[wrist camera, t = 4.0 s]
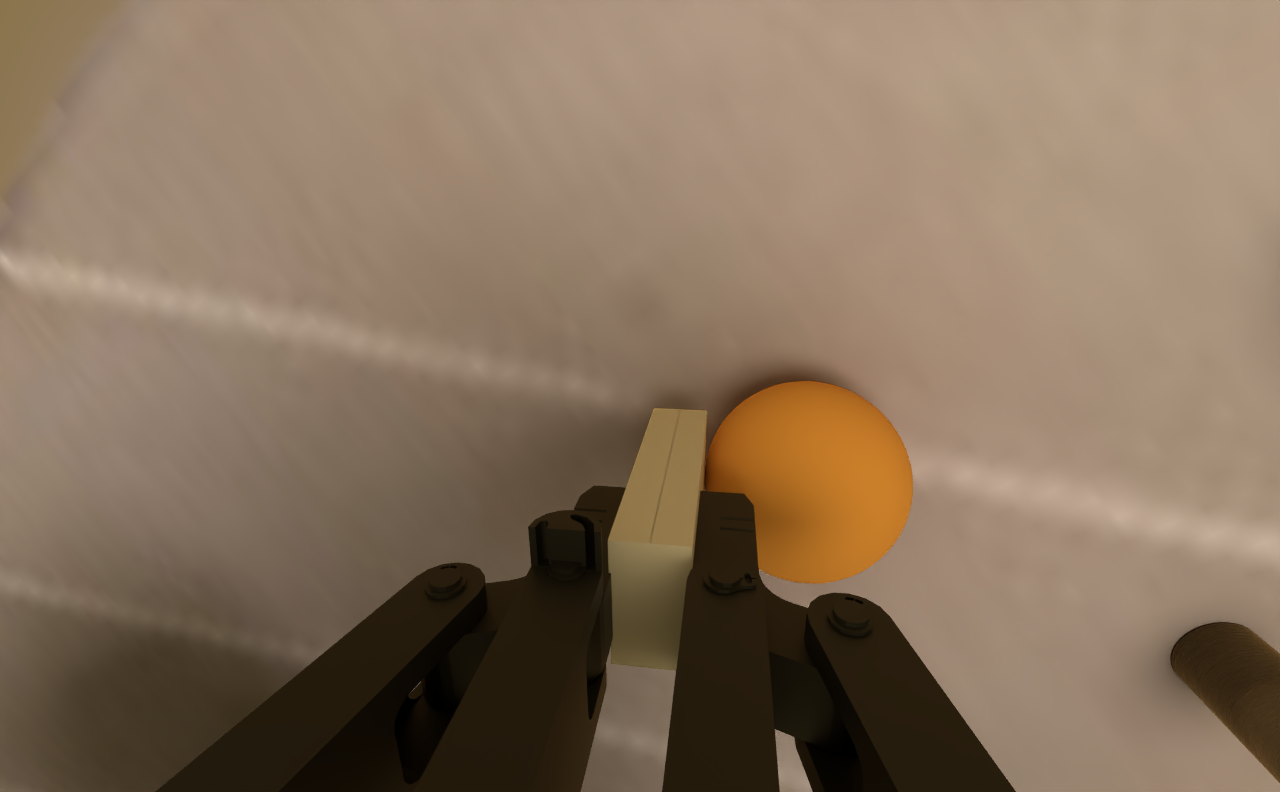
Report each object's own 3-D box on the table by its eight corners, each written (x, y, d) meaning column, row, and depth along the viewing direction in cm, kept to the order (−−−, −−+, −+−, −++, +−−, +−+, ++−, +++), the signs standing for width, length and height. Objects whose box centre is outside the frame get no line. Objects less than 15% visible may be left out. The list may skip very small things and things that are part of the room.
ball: (676, 524, 19) (738, 642, 14) (687, 360, 17) (762, 427, 12) (829, 511, 20) (938, 616, 15) (853, 357, 19) (984, 416, 14)
